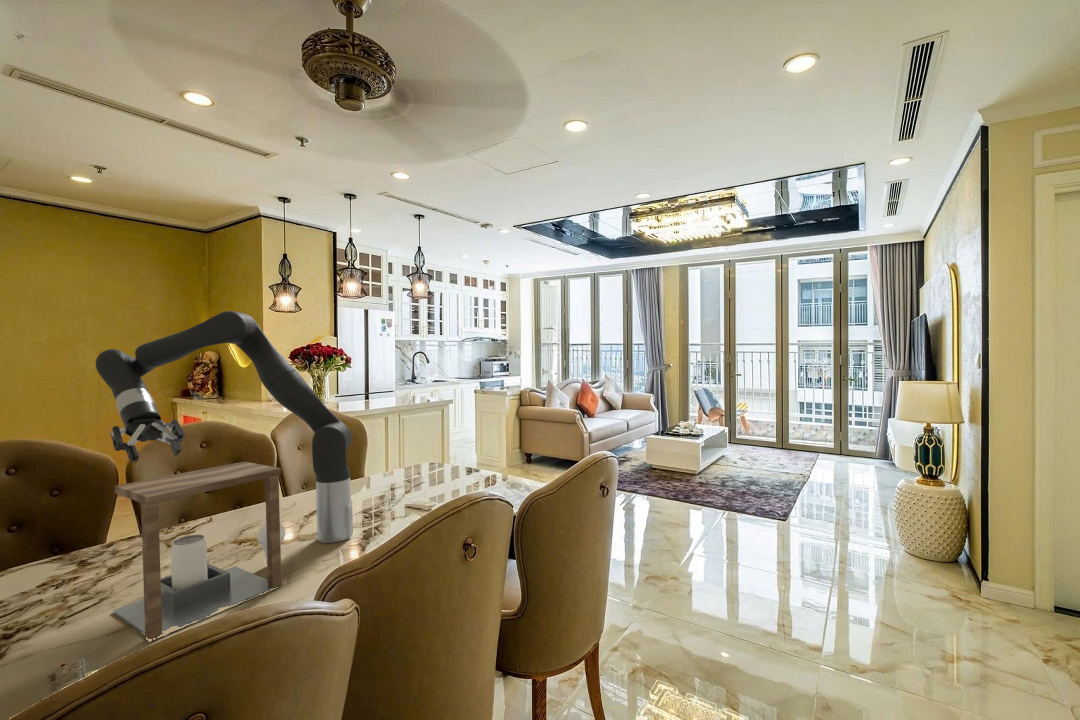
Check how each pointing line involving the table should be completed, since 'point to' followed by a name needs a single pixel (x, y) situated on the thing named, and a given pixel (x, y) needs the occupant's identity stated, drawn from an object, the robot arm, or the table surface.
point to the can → (188, 561)
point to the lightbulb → (263, 537)
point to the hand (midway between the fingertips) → (157, 456)
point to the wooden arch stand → (188, 485)
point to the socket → (198, 597)
